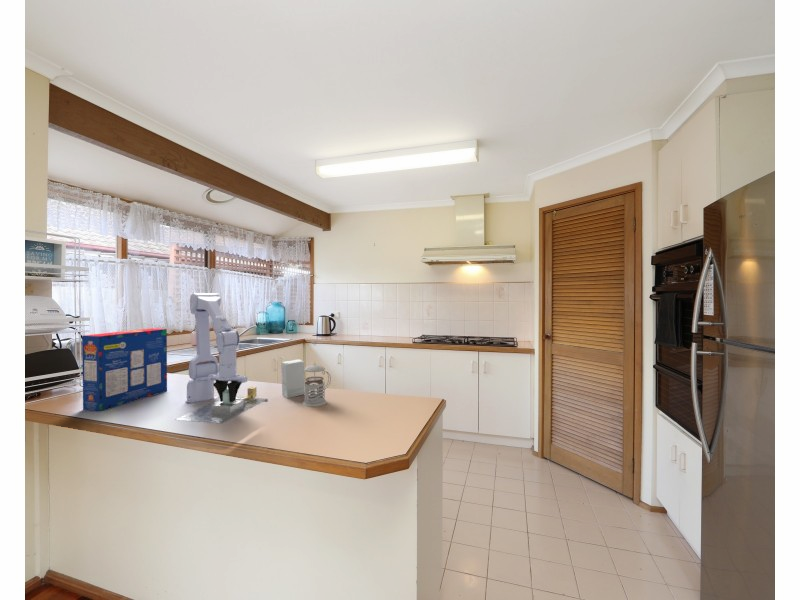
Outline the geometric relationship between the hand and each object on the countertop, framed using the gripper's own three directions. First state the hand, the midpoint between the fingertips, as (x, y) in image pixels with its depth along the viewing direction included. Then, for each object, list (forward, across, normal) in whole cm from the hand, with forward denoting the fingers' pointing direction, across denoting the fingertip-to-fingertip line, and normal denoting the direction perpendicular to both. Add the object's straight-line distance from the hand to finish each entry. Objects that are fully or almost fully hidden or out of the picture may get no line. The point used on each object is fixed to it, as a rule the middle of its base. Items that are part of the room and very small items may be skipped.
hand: (227, 401), depth 125 cm
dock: (+5, -3, +2) cm, 6 cm away
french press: (+5, +26, +19) cm, 33 cm away
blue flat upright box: (+5, -51, +7) cm, 52 cm away
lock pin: (+3, 0, +11) cm, 11 cm away
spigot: (+2, 0, 0) cm, 2 cm away
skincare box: (+5, +12, +26) cm, 29 cm away
